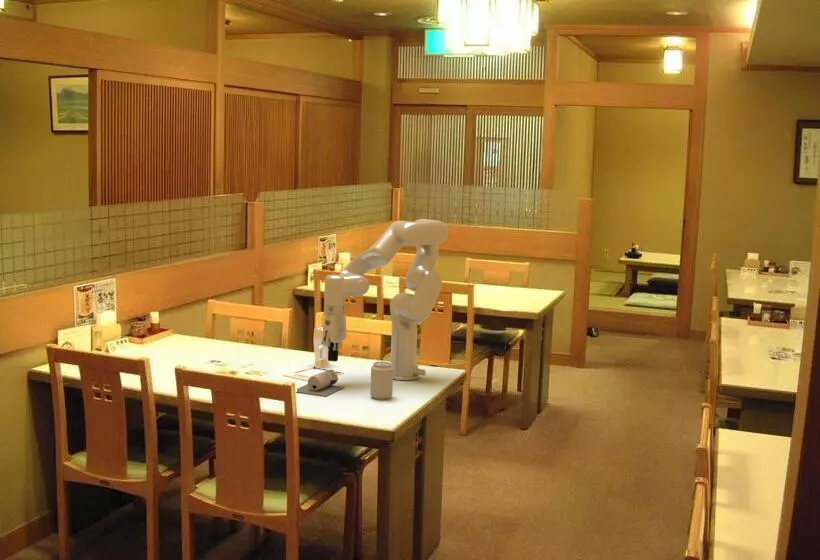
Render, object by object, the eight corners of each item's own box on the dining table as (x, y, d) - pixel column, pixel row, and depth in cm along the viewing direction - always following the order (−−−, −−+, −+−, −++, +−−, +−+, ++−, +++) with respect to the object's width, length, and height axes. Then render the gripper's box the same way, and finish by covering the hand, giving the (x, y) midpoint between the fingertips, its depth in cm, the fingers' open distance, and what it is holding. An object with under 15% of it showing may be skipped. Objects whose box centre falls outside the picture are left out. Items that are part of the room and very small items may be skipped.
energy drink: (325, 383, 325) (307, 390, 314) (325, 368, 324) (307, 375, 314) (338, 384, 323) (320, 391, 312) (338, 369, 322) (320, 376, 311)
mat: (344, 388, 321) (344, 386, 321) (325, 396, 308) (325, 395, 308) (311, 383, 325) (311, 382, 325) (292, 392, 313) (292, 390, 312)
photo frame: (282, 374, 335) (314, 366, 350) (282, 377, 335) (314, 368, 350) (313, 380, 327) (344, 372, 342) (313, 383, 327) (344, 374, 342)
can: (374, 400, 305) (376, 365, 303) (367, 395, 312) (368, 361, 310) (395, 399, 308) (396, 364, 306) (387, 393, 315) (388, 359, 313)
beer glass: (332, 364, 356) (333, 327, 354) (329, 368, 349) (330, 330, 347) (314, 363, 357) (315, 326, 355) (311, 367, 350) (312, 329, 348)
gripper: (334, 313, 313) (332, 366, 315) (353, 308, 326) (351, 358, 329) (315, 311, 316) (313, 363, 318) (334, 306, 329) (333, 355, 331)
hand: (332, 360), depth 323 cm, fingers closed
